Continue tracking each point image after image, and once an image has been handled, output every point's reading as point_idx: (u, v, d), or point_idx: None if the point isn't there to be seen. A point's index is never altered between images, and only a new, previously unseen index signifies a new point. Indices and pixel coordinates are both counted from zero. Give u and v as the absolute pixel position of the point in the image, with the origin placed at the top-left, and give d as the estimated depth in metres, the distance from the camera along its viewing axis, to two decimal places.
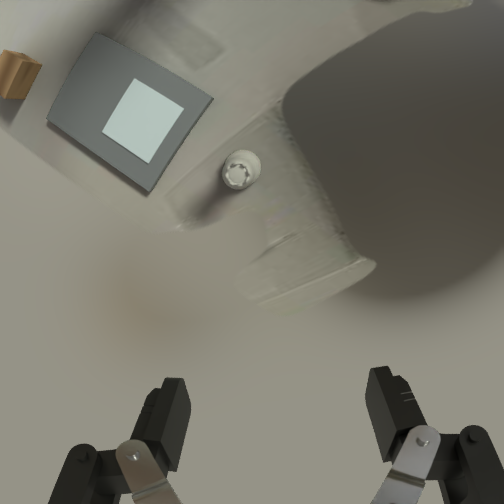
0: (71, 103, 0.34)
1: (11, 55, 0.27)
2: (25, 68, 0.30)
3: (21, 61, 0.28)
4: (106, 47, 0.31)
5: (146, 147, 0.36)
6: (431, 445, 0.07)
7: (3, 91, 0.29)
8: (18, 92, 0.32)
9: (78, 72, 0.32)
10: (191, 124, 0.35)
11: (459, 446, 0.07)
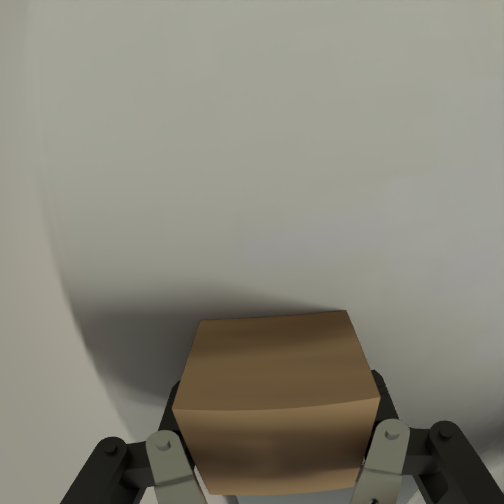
0: None
1: (361, 448, 0.09)
2: None
3: (349, 484, 0.10)
4: (407, 487, 0.17)
5: None
6: (400, 439, 0.08)
7: (223, 485, 0.10)
8: None
9: (351, 490, 0.16)
10: None
11: (431, 443, 0.07)
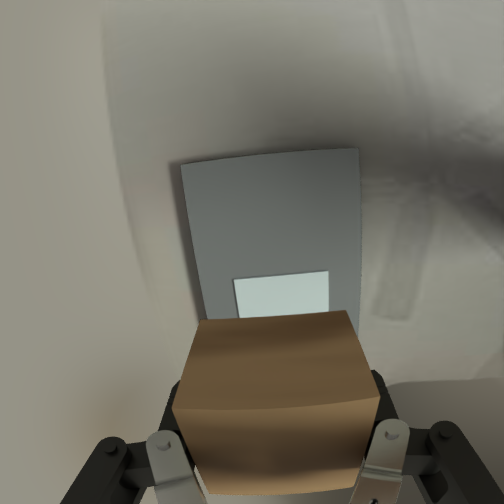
0: (233, 196, 0.25)
1: (361, 448, 0.09)
2: None
3: (349, 484, 0.10)
4: (345, 190, 0.24)
5: None
6: (399, 439, 0.08)
7: (222, 484, 0.10)
8: None
9: (283, 171, 0.24)
10: None
11: (431, 443, 0.07)
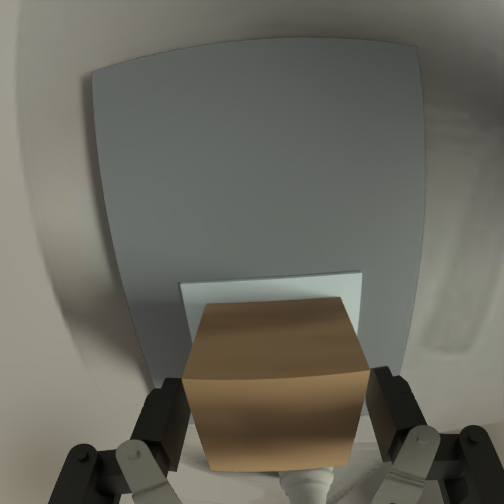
0: (179, 119, 0.12)
1: (353, 422, 0.10)
2: None
3: (343, 462, 0.11)
4: (398, 115, 0.11)
5: None
6: (431, 445, 0.07)
7: (224, 460, 0.11)
8: None
9: (279, 70, 0.11)
10: None
11: (459, 446, 0.07)
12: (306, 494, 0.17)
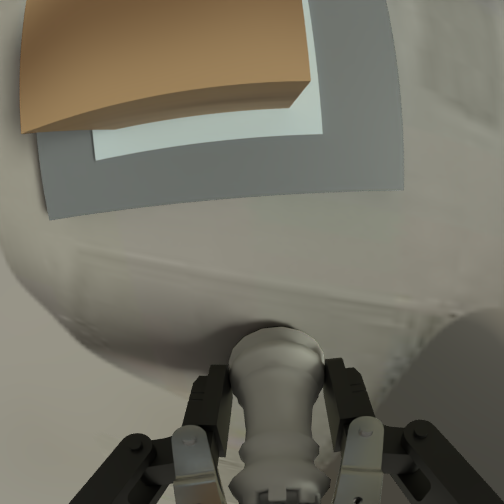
0: None
1: None
2: (251, 96, 0.06)
3: (298, 69, 0.05)
4: None
5: None
6: (373, 436, 0.08)
7: (42, 79, 0.05)
8: (109, 122, 0.07)
9: None
10: (292, 189, 0.11)
11: (407, 444, 0.08)
12: (271, 391, 0.11)
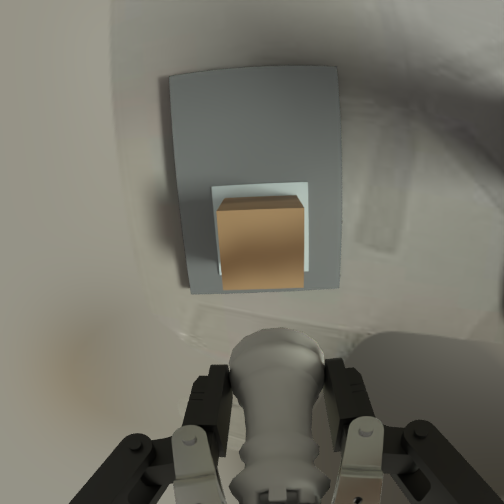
0: (216, 104, 0.24)
1: (301, 245, 0.22)
2: None
3: (301, 284, 0.23)
4: (324, 102, 0.23)
5: None
6: (373, 436, 0.08)
7: (231, 277, 0.23)
8: None
9: (265, 82, 0.23)
10: (296, 289, 0.29)
11: (407, 444, 0.08)
12: (271, 391, 0.11)
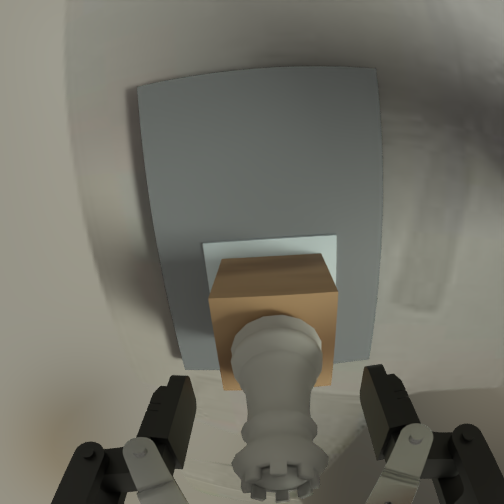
0: (204, 125, 0.17)
1: (331, 339, 0.15)
2: None
3: (327, 382, 0.16)
4: (360, 120, 0.16)
5: None
6: (424, 443, 0.07)
7: (234, 377, 0.16)
8: None
9: (275, 91, 0.16)
10: None
11: (452, 445, 0.07)
12: (272, 373, 0.12)
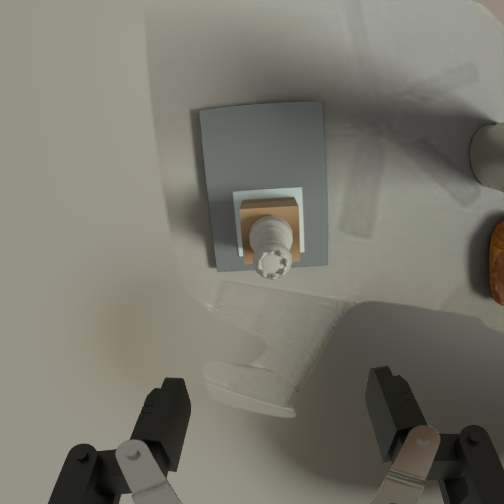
0: (234, 131, 0.34)
1: (297, 231, 0.33)
2: None
3: (298, 259, 0.34)
4: (313, 129, 0.34)
5: None
6: (431, 445, 0.07)
7: (250, 254, 0.34)
8: None
9: (269, 115, 0.33)
10: (295, 266, 0.40)
11: (459, 446, 0.07)
12: (268, 232, 0.29)
